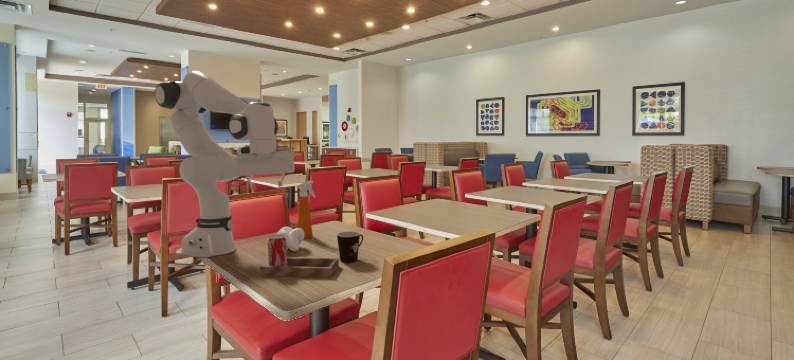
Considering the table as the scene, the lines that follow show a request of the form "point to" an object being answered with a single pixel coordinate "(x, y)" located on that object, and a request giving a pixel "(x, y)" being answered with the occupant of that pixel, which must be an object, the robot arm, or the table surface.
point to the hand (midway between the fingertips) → (266, 187)
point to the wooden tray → (303, 267)
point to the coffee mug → (349, 246)
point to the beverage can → (277, 250)
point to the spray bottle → (305, 209)
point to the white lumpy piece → (292, 237)
